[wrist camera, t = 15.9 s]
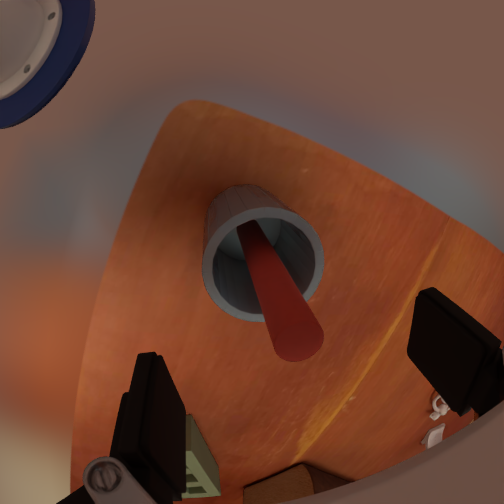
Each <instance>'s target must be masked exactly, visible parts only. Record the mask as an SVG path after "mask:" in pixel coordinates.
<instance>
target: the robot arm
mask: <svg viewBox="0 0 504 504" xmlns="http://www.w3.org/2000/svg"><path fill="white" fill-rule="evenodd" d="M61 24H62V6H61V3H60V1H59V0H0V100H2V99H5V98H7V97H9V96H11V95H13V94H14V93H16V92H17V91H19V90H20V89H21V88H22V87H24V86H25V85H26V84H27V83H28V82H29V81H30V80H31V79H32V78H33V77H34V75H35V74H36V73H37V72H38V70H39V69H40V68H41V67H42V65H43V64H44V62H45V61H46V59H47V58H48V56H49V54H50V52H51V50H52V48H53V47H54V45H55V42H56V40H57V37H58V35H59V31H60V27H61ZM500 345H501V341H500V340H499V339H498V338H497V337H496V336H494V335H493V334H492V333H491V332H490V331H489V330H487V329H486V328H485V327H484V326H483V325H481V324H480V323H479V322H478V321H476V320H475V319H474V318H473V317H472V316H470V315H469V314H468V313H467V312H465V311H464V310H463V309H462V308H460V307H459V306H458V305H457V304H455V303H454V302H453V301H451V300H450V299H449V298H447V297H446V296H445V295H444V294H442V293H441V292H440V291H438V290H437V289H436V288H434V287H430V288H427V289H424V290H421V291H420V292H419V293H418V296H417V297H416V299H415V306H414V313H413V319H412V325H411V331H410V336H409V342H408V347H407V354H408V357H409V358H410V359H411V361H412V362H413V363H414V364H415V365H416V367H417V368H418V369H419V370H420V371H421V373H422V374H423V375H424V376H425V377H426V379H427V380H428V381H429V382H430V384H431V385H432V386H433V387H434V389H435V390H436V391H437V392H438V393H439V395H440V396H441V397H442V398H443V400H444V401H445V402H446V404H447V405H448V406H449V407H450V409H451V410H452V411H454V412H457V413H458V415H459V416H460V417H461V416H462V415H464V414H466V413H467V412H469V411H470V410H471V408H473V410H474V422H472V423H471V424H469V425H468V426H466V427H465V428H463V429H461V430H460V431H458V432H457V433H455V434H453V435H452V436H450V437H448V438H447V439H445V440H443V441H441V442H440V443H438V444H436V445H434V446H432V447H431V448H429V449H427V450H425V451H423V452H421V453H419V454H417V455H415V456H413V457H411V458H409V459H407V460H405V461H403V462H401V463H399V464H397V465H394V466H392V467H390V468H388V469H385V470H383V471H381V472H378V473H376V474H373V475H371V476H368V477H366V478H363V479H360V480H358V481H355V482H352V483H349V484H346V485H343V486H340V487H337V488H334V489H331V490H328V491H325V492H321V493H318V494H314V495H311V496H307V497H303V498H299V499H295V500H291V501H286V502H282V503H277V504H504V347H503V349H500V348H499V347H500ZM83 483H84V485H83V486H82V487H80V488H79V489H77V490H76V491H75V492H73V493H72V494H70V495H69V496H67V497H66V498H65V499H63V500H61V501H60V502H58V503H56V504H173V501H182V493H186V490H187V486H186V410H185V406H184V404H183V402H182V400H181V398H180V395H179V393H178V391H177V389H176V387H175V385H174V382H173V380H172V378H171V375H170V373H169V371H168V369H167V366H166V364H165V361H164V359H163V357H162V356H161V355H158V356H157V354H156V353H155V352H148V353H140V354H138V356H137V360H136V364H135V368H134V372H133V376H132V381H131V385H130V389H129V392H125V393H124V394H123V396H122V399H121V403H120V407H119V412H118V416H117V421H116V425H115V430H114V435H113V440H112V445H111V450H110V456H109V457H99V458H97V459H95V460H93V461H92V462H90V463H89V464H88V465H87V467H86V468H85V470H84V473H83Z"/></svg>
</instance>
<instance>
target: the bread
mask: <svg viewBox="0 0 504 504" xmlns="http://www.w3.org/2000/svg"><path fill="white" fill-rule="evenodd" d="M349 483H351V482H348V481H345V480H342V479H340V478H338V477H335V476H333V475H330V474H327V473H325V472H322V471H320V470H318V469H315V468H313V467H311V466H308V465H306V464H303V463H302V464H300V465H297V466H295V467H292V468H290V469H288V470H286V471H284V472H282V473H279V474H277V475H275V476H272V477H270V478H268V479H265V480H263V481H261V482H258V483H256V484H253V485H251V486H248V487H246V488H244V494H243V504H277V503H282V502H286V501H291V500H295V499H299V498H303V497H307V496H311V495H314V494H318V493H321V492H325V491H328V490H331V489H334V488H337V487H340V486H343V485H346V484H349Z"/></svg>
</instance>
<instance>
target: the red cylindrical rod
mask: <svg viewBox="0 0 504 504" xmlns="http://www.w3.org/2000/svg"><path fill="white" fill-rule="evenodd" d="M236 230H237V234H238V238H239V241H240V244H241V247H242V250H243V253H244V256H245V260H246V263H247V266H248V269H249V272H250V275H251V278H252V282H253V285H254V288H255V291H256V294H257V297H258V300H259V303H260V306H261V309H262V313H263V316H264V319H265V322H266V325H267V328H268V331H269V334H270V337H271V340H272V343H273V346H274V350H275V352H276V354H277V355H278V356H279V357H280V358H282V359H284V360H286V361H291V362H296V361H302V360H305V359H307V358H309V357H311V356H312V355H314V354H315V353H316V352H317V351H318V350H319V349H320V347H321V345H322V343H323V340H324V333H323V330H322V328H321V326H320V324H319V323H318V321H317V319H316V318H315V316H314V314H313V313H312V311H311V309H310V308H309V306H308V304H307V303H306V301H305V299H304V298H303V296H302V294H301V293H300V291H299V289H298V288H297V286H296V284H295V283H294V281H293V279H292V278H291V276H290V274H289V273H288V271H287V269H286V268H285V266H284V265H283V263H282V261H281V260H280V258H279V256H278V255H277V253H276V251H275V250H274V248H273V247H272V245H271V243H270V242H269V240H268V238H267V237H266V235H265V234H264V232H263V230H262V229H261V227H260V225H259V224H258V222H257V221H256V220H254V219H253V220H250V221H248V222H245V223H243V224H241V225H239V226H237V229H236Z"/></svg>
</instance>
